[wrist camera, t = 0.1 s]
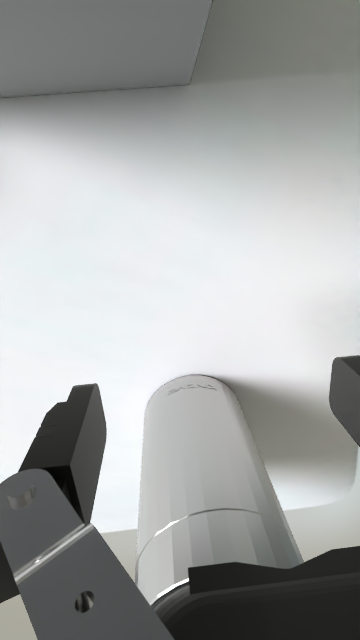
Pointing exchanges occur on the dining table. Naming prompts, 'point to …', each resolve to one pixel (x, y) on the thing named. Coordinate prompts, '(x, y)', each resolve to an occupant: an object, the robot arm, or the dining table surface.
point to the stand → (98, 44)
